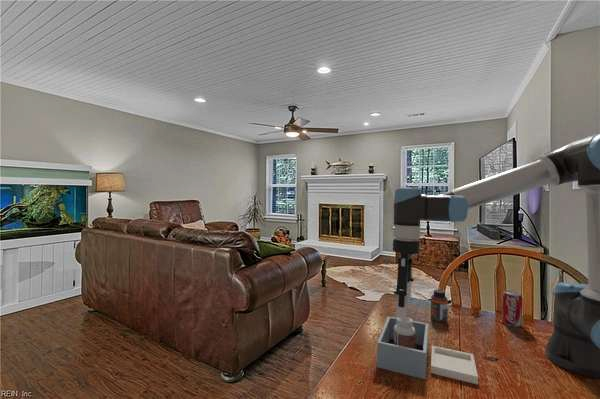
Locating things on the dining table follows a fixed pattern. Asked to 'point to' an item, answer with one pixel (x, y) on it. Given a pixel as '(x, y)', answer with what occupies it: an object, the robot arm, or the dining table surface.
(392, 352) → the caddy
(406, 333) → the pill bottle
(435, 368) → the tray
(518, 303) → the soda can
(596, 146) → the robot arm
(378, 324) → the dining table surface
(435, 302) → the supplement bottle
